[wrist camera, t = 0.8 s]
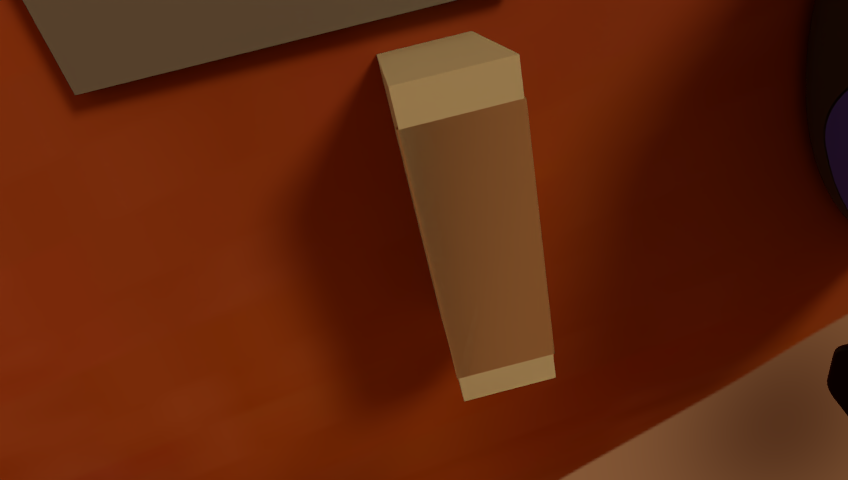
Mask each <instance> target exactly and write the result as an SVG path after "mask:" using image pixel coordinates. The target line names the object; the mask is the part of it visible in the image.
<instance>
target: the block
mask: <svg viewBox="0 0 848 480" xmlns="http://www.w3.org/2000/svg"><path fill="white" fill-rule="evenodd" d="M377 59H378V63H379V67H380V71H381V75H382V79H383V83H384V87H385V91H386V95H387V99H388V103H389V107H390V111H391V116H392V120H393V124H394V128H395V132H396V136H397V140H398V144H399V148H400V152H401V156H402V160H403V164H404V169H405V173H406V177H407V181H408V185H409V189H410V193H411V197H412V201H413V205H414V209H415V213H416V217H417V222H418V226H419V230H420V234H421V238H422V242H423V246H424V250H425V254H426V258H427V262H428V266H429V270H430V274H431V279H432V283H433V287H434V291H435V295H436V299H437V303H438V307H439V311H440V315H441V318H442V322H443V326H444V329H445V333H446V337H447V340H448V344H449V348H450V352H451V356H452V360H453V364H454V368H455V372H456V376H457V379H458V380H459V384H460V387H461V391H462V395H463V398H464V401H468V400H471V399H475V398H479V397H483V396H487V395H491V394H494V393H498V392H502V391H506V390H510V389H514V388H517V387H521V386H525V385H529V384H533V383H537V382H540V381H544V380H548V379H552V378H556V375H555V367H554V358H553V354H555V352H554V343H553V334H552V325H551V316H550V307H549V298H548V289H547V280H546V271H545V262H544V253H543V244H542V235H541V226H540V217H539V208H538V199H537V190H536V181H535V172H534V163H533V154H532V145H531V136H530V127H529V118H528V109H527V100H526V97H524V92H523V83H522V74H521V65H520V56H519V54H518V53H516V52H514V51H512V50H510V49H508V48H506V47H503V46H501V45H499V44H497V43H495V42H493V41H491V40H489V39H487V38H485V37H483V36H481V35H479V34H477V33H475V32H473V31H470V32H466V33H462V34H458V35H454V36H450V37H446V38H441V39H437V40H433V41H429V42H425V43H421V44H417V45H413V46H409V47H405V48H401V49H397V50H393V51H389V52H385V53H381V54H377Z"/></svg>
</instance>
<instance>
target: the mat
mask: <svg viewBox="0 0 848 480" xmlns="http://www.w3.org/2000/svg"><path fill="white" fill-rule="evenodd" d="M451 1H455V0H23V2H24V4H25V5H26V7H27V9H28V11H29V13H30V14H31V16H32V18H33V20H34V22H35V24H36V25H37V27H38V29H39V31H40V33H41V34H42V36H43V38H44V40H45V42H46V44H47V45H48V47H49V49H50V51H51V53H52V54H53V56H54V58H55V60H56V62H57V63H58V65H59V67H60V69H61V71H62V73H63V74H64V76H65V78H66V80H67V82H68V83H69V85H70V87H71V89H72V91H73V92H74V94H75V95H79V94H83V93H87V92H91V91H95V90H99V89H103V88H107V87H111V86H115V85H119V84H123V83H127V82H131V81H135V80H139V79H143V78H147V77H151V76H155V75H159V74H163V73H167V72H171V71H175V70H179V69H183V68H187V67H191V66H195V65H199V64H203V63H207V62H211V61H215V60H219V59H223V58H227V57H231V56H235V55H239V54H243V53H247V52H251V51H255V50H259V49H263V48H267V47H271V46H275V45H279V44H283V43H287V42H291V41H295V40H299V39H303V38H307V37H311V36H315V35H319V34H323V33H327V32H331V31H335V30H339V29H343V28H347V27H351V26H355V25H359V24H363V23H367V22H371V21H375V20H379V19H383V18H387V17H391V16H395V15H399V14H403V13H407V12H411V11H415V10H419V9H423V8H427V7H431V6H435V5H439V4H443V3H447V2H451Z"/></svg>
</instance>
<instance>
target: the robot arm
mask: <svg viewBox="0 0 848 480" xmlns="http://www.w3.org/2000/svg"><path fill="white" fill-rule="evenodd" d="M827 385H828V388H829V391H830V392H831V394H832V396H833V397H834V399H835V400H836V401H837V403H838V404H839V405H840V406H841V407H842V409H843V410H844V411H845V413H846V414H847V415H848V344H846V345H842V346H839V347H838V348H837V349H836V350H835V352H834V354H833V358H832V362H831V366H830V370H829V375H828V379H827Z"/></svg>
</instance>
